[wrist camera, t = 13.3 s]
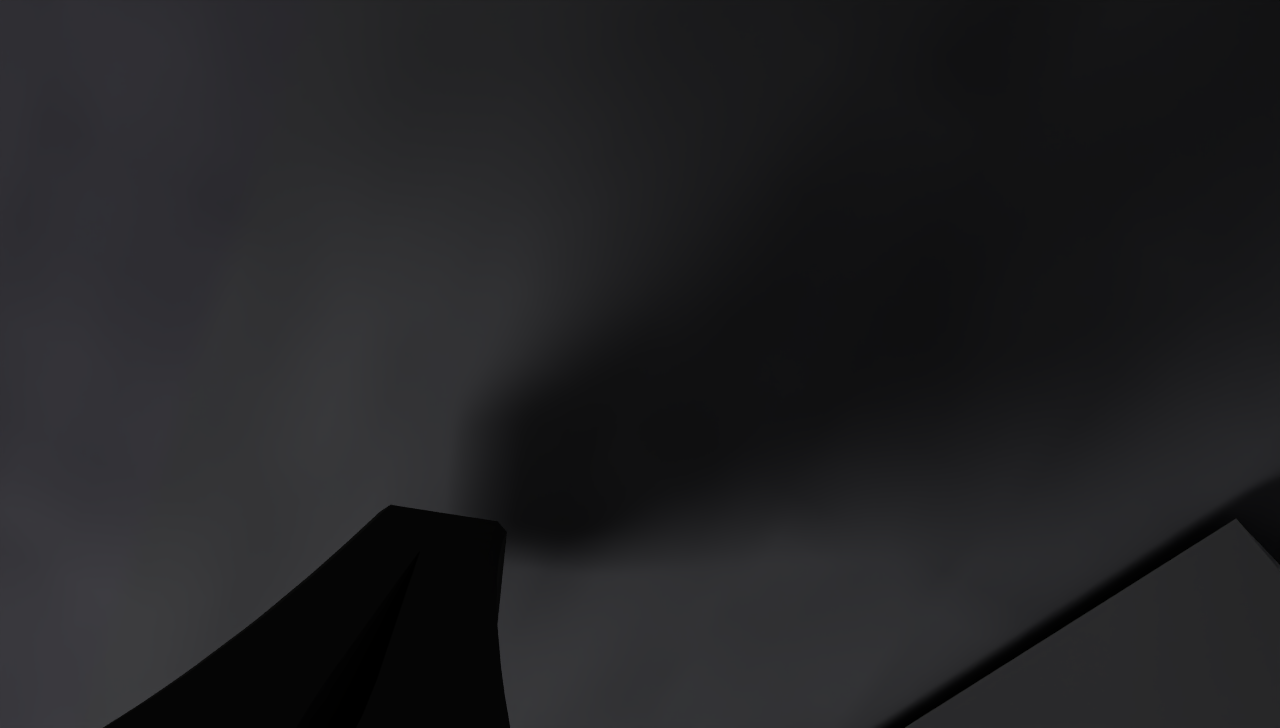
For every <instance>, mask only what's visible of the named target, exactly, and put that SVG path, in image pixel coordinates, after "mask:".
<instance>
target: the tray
mask: <svg viewBox="0 0 1280 728" xmlns="http://www.w3.org/2000/svg"><path fill="white" fill-rule="evenodd" d="M905 728H1280V565H1279V564H1278V562H1277V561H1276V560H1275V559H1274V558H1273V557H1272V556H1271V555H1270V554H1269V553H1268V552H1267V551H1266V550H1265V549H1264V548H1263V547H1262V546H1261V544H1260V543H1259V542H1258V541H1257V540H1256V539H1255V538H1254V537H1253V536H1252V535H1251V534H1250V533H1249V532H1248V531H1247V530H1246V529H1245V528H1244V527H1243V525H1242V524H1241V523H1240V522H1239V521H1238V520H1237V519H1235V520H1233V521H1231V522H1230V523H1228V524H1227V525H1225V526H1223V527H1222V528H1220V529H1219V530H1217V531H1216V532H1214V533H1212V534H1211V535H1209V536H1208V537H1206V538H1204V539H1203V540H1201V541H1200V542H1198V543H1197V544H1195V545H1193V546H1192V547H1190V548H1189V549H1187V550H1185V551H1184V552H1182V553H1181V554H1179V555H1178V556H1176V557H1174V558H1173V559H1171V560H1170V561H1168V562H1166V563H1165V564H1163V565H1162V566H1160V567H1159V568H1157V569H1155V570H1154V571H1152V572H1151V573H1149V574H1147V575H1146V576H1144V577H1143V578H1141V579H1140V580H1138V581H1136V582H1135V583H1133V584H1132V585H1130V586H1128V587H1127V588H1125V589H1124V590H1122V591H1120V592H1119V593H1117V594H1116V595H1114V596H1113V597H1111V598H1109V599H1108V600H1106V601H1105V602H1103V603H1101V604H1100V605H1098V606H1097V607H1095V608H1094V609H1092V610H1090V611H1089V612H1087V613H1086V614H1084V615H1082V616H1081V617H1079V618H1078V619H1076V620H1075V621H1073V622H1071V623H1070V624H1068V625H1067V626H1065V627H1063V628H1062V629H1060V630H1059V631H1057V632H1056V633H1054V634H1052V635H1051V636H1049V637H1048V638H1046V639H1044V640H1043V641H1041V642H1040V643H1038V644H1037V645H1035V646H1033V647H1032V648H1030V649H1029V650H1027V651H1025V652H1024V653H1022V654H1021V655H1019V656H1018V657H1016V658H1014V659H1013V660H1011V661H1010V662H1008V663H1006V664H1005V665H1003V666H1002V667H1000V668H998V669H997V670H995V671H994V672H992V673H991V674H989V675H987V676H986V677H984V678H983V679H981V680H979V681H978V682H976V683H975V684H973V685H972V686H970V687H968V688H967V689H965V690H964V691H962V692H960V693H959V694H957V695H956V696H954V697H953V698H951V699H949V700H948V701H946V702H945V703H943V704H941V705H940V706H938V707H937V708H935V709H934V710H932V711H930V712H929V713H927V714H926V715H924V716H922V717H921V718H919V719H918V720H916V721H915V722H913V723H911V724H910V725H908V726H907V727H905Z"/></svg>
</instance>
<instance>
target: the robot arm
mask: <svg viewBox="0 0 1280 728" xmlns="http://www.w3.org/2000/svg"><path fill="white" fill-rule="evenodd" d="M506 534H507V532H506V530H505V529H504V528H503V527H502V526H501V525H500V523H499V522H497V521H491V520H484V519H478V518H471V517H465V516H459V515H452V514H446V513H439V512H433V511H426V510H420V509H414V508H407V507H401V506H394V505H390V506H388V507H387V508H385V509H383V510H382V511H380V512H379V513H378V514H377V515H376V516H375V517H374V518H373V519H372V520H371V521H370V522H368V523H367V524H366V525H365V526H364V527H363V528H362V529H361V530H360V531H359V532H358V533H357V534H355V535H354V536H353V537H352V538H351V539H350V540H349V541H348V542H347V543H346V544H345V545H343V546H342V547H341V548H340V549H339V550H338V551H337V552H336V553H335V554H333V555H332V556H331V557H330V558H329V559H328V560H327V561H326V562H324V563H323V564H322V565H321V566H320V567H319V568H318V569H316V570H315V571H314V572H313V573H312V574H311V575H310V576H308V577H307V578H306V579H305V580H304V581H302V582H301V583H300V584H299V585H298V586H296V587H295V588H294V589H293V590H292V591H290V592H289V593H288V594H287V595H286V596H284V597H283V598H282V599H281V600H280V601H278V602H277V603H276V604H275V605H274V606H272V607H271V608H270V609H269V610H268V611H266V612H265V613H264V614H263V615H262V616H260V617H259V618H258V619H257V620H255V621H254V622H253V623H251V624H250V625H249V626H248V627H246V628H245V629H244V630H242V631H241V632H240V633H238V634H237V635H236V636H234V637H233V638H232V639H230V640H229V641H228V642H226V643H225V644H224V645H222V646H221V647H220V648H218V649H217V650H216V651H214V652H213V653H212V654H210V655H209V656H208V657H206V658H205V659H204V660H202V661H201V662H200V663H198V664H197V665H196V666H194V667H193V668H192V669H190V670H189V671H188V672H186V673H185V674H183V675H182V676H180V677H179V678H178V679H176V680H175V681H173V682H172V683H170V684H169V685H167V686H166V687H165V688H163V689H162V690H160V691H159V692H157V693H156V694H154V695H153V696H151V697H150V698H148V699H147V700H145V701H144V702H142V703H141V704H139V705H138V706H136V707H135V708H133V709H132V710H130V711H129V712H127V713H125V714H124V715H122V716H121V717H119V718H118V719H116V720H114V721H113V722H111V723H110V724H108V725H107V726H105V727H103V728H510V724H509V718H508V712H507V706H506V700H505V694H504V687H503V679H502V671H501V662H500V651H499V639H498V627H497V623H498V613H499V604H500V594H501V584H502V574H503V564H504V554H505V544H506Z"/></svg>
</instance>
